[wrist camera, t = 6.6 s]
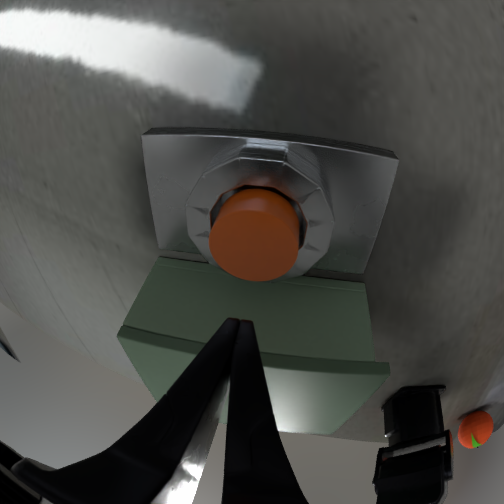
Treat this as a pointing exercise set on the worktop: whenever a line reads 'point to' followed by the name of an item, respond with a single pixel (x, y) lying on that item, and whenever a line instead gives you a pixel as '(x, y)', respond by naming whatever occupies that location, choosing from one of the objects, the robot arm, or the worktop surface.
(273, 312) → the fryer
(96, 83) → the worktop surface
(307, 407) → the lid
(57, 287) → the worktop surface
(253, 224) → the button
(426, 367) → the worktop surface
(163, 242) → the control panel
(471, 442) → the clementine
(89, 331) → the worktop surface
